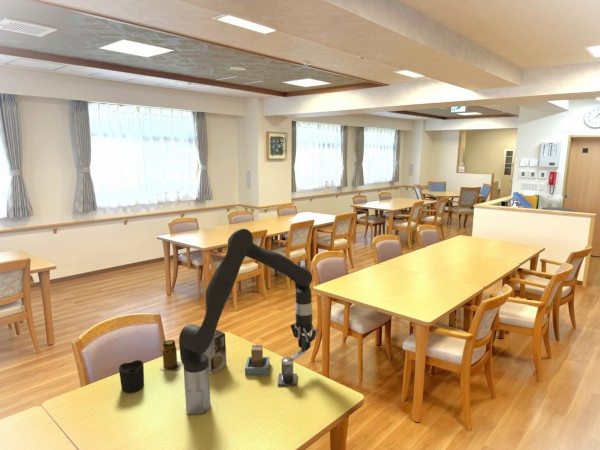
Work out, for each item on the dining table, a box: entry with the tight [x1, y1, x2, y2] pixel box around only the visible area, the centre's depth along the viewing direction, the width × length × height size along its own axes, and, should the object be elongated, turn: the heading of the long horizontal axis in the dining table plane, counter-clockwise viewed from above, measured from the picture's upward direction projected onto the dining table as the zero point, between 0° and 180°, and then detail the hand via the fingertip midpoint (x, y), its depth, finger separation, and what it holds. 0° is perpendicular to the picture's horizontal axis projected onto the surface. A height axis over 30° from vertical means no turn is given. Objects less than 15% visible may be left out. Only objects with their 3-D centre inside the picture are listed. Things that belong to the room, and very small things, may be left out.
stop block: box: [250, 344, 264, 367], centre depth 177 cm, size 4×4×10 cm
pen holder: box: [118, 359, 145, 394], centre depth 164 cm, size 9×9×10 cm
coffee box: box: [204, 329, 227, 374], centre depth 179 cm, size 9×6×16 cm
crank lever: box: [281, 335, 308, 366], centre depth 171 cm, size 16×5×7 cm, turn 141°
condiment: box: [160, 339, 183, 371], centre depth 180 cm, size 7×8×12 cm
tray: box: [244, 356, 270, 377], centre depth 178 cm, size 10×10×4 cm
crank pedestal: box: [277, 364, 298, 387], centre depth 176 cm, size 24×8×8 cm, turn 0°
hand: (304, 347), depth 176 cm, fingers closed on crank lever, 3 cm apart
